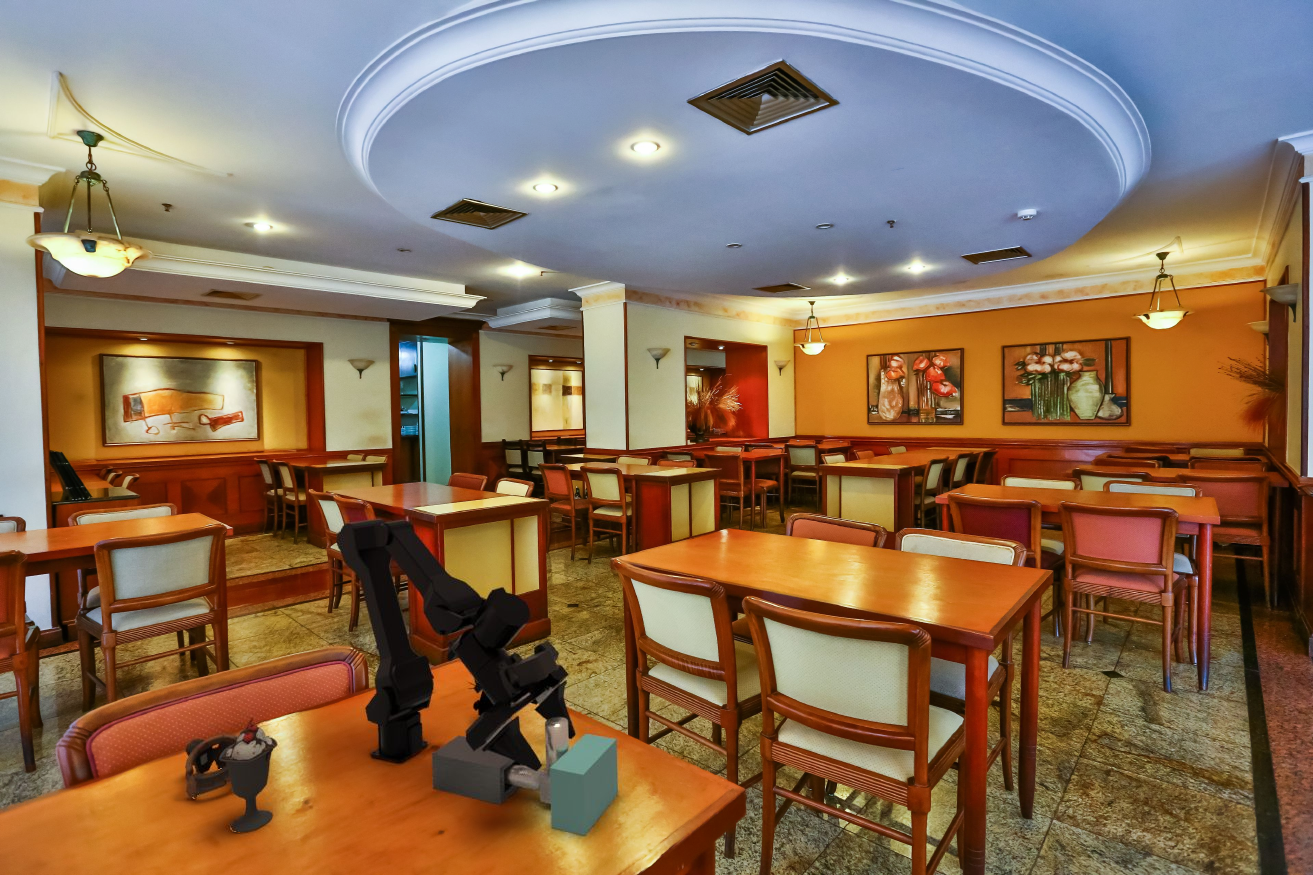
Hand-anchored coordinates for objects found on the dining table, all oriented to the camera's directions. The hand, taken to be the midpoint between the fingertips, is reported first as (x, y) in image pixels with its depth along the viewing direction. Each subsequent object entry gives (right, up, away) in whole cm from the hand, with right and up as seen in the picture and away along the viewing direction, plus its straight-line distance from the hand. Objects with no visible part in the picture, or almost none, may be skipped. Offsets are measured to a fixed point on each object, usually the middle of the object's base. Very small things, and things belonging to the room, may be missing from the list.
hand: (557, 752), depth 90 cm
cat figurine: (-16, -7, +26) cm, 31 cm away
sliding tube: (-4, -6, +2) cm, 8 cm away
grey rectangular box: (-12, -7, +5) cm, 15 cm away
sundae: (-41, -9, -2) cm, 42 cm away
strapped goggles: (-53, -9, +8) cm, 55 cm away
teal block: (+4, -7, -2) cm, 9 cm away
